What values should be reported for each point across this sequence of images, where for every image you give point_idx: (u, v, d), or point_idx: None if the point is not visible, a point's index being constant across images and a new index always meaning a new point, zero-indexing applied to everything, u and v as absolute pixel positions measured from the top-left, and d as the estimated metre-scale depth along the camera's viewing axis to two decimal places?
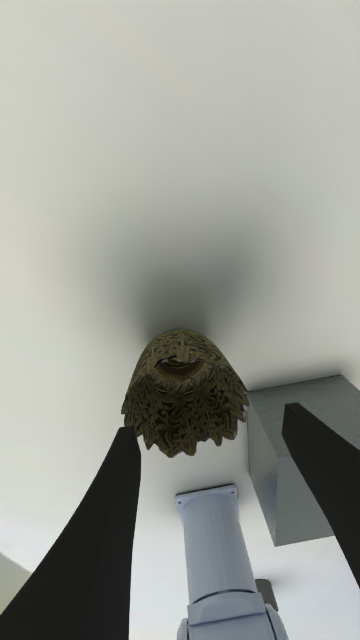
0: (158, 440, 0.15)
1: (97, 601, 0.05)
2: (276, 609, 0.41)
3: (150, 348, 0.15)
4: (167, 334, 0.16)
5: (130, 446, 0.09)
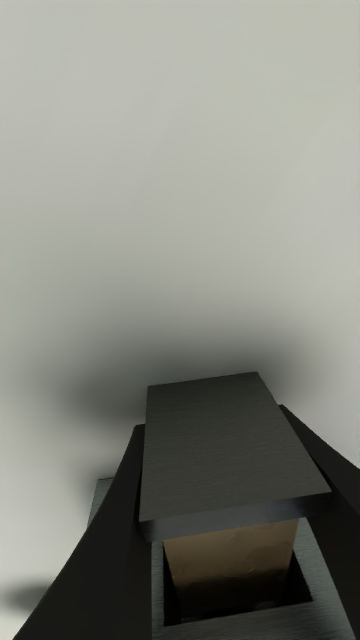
0: None
1: (127, 596, 0.05)
2: None
3: None
4: None
5: None
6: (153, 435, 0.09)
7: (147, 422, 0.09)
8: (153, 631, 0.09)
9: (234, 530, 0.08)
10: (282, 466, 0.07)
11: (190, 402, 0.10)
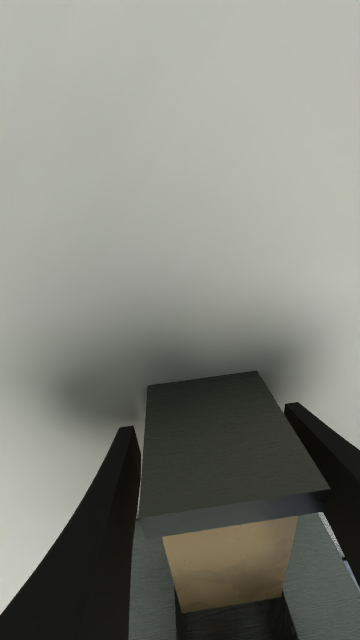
0: None
1: (97, 601, 0.05)
2: None
3: None
4: None
5: (130, 446, 0.09)
6: (153, 433, 0.09)
7: (147, 420, 0.10)
8: None
9: (233, 528, 0.08)
10: (281, 464, 0.07)
11: (190, 400, 0.10)
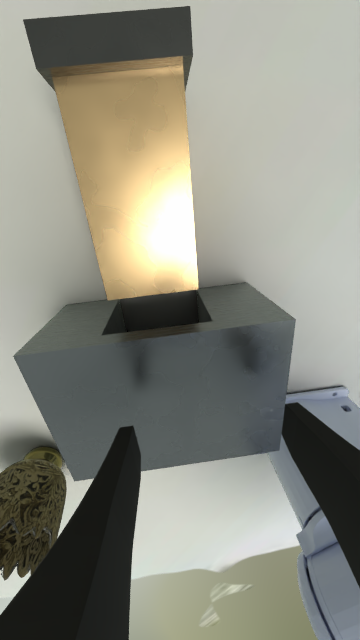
0: None
1: (96, 601, 0.05)
2: None
3: None
4: None
5: (130, 446, 0.09)
6: None
7: None
8: (93, 337, 0.12)
9: (129, 124, 0.09)
10: None
11: None
